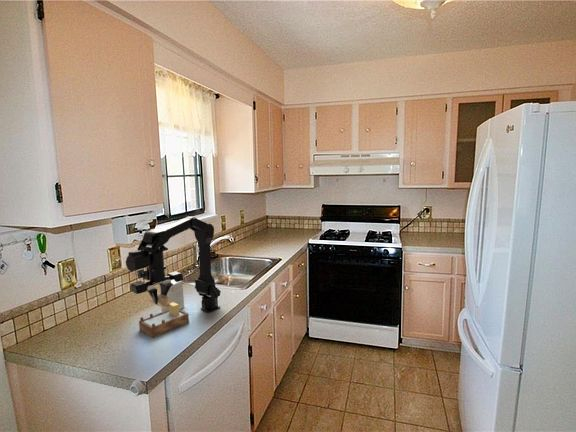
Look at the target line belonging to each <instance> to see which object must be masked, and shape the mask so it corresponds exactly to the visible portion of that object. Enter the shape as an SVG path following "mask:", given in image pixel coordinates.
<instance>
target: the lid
mask: <svg viewBox="0 0 576 432" xmlns="http://www.w3.org/2000/svg"><path fill="white" fill-rule="evenodd" d="M181 315H183V314H182V313H180V312H179V304H177V303H174V302H172V303H170V306H169V312H167V313H164V314H162V315H159V316H156V317H154V318H151V319H148V320H146V321H143V322H145V323H147V324H148V325H150V326H152V324H153V323H154V324H155V326H156V325H158V324H161V323H162V320H163V319H164V320H165V322H166V321H168V320H171V319H173V318H176V317H178V316H181Z"/></svg>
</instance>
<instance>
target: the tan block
mask: <svg viewBox="0 0 576 432" xmlns="http://www.w3.org/2000/svg"><path fill="white" fill-rule="evenodd" d="M148 296H149V298H148V299H149V302H150V303H152V304H154V305H156V304H155V303H154V301H153V299H152V297H151V295H150V294H149V293H148ZM157 299H158V302H157V305H156V306H158V307H160V308H161V307H162V308H167V307H169V306H170V303H169V297H167V296H165V295H163V294H161V293H160V291H157ZM162 308H161V309H162Z"/></svg>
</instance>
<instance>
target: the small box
mask: <svg viewBox="0 0 576 432" xmlns="http://www.w3.org/2000/svg"><path fill="white" fill-rule="evenodd" d="M171 283H172V284H173V286H171V287H170V289H169V291H168V293H167V297H169V303H172V302H174V303H177V304H179V309H180V310H182V309H184V308H185V300H184V287H183V285H184V284H183V280H182V281H179V282H176V281H174V280H171ZM158 285H159V284H158ZM159 293H161V287H160V285H159ZM160 308H161V313H162V312H164V311H167V310H169V307H167V308H162V307H160Z"/></svg>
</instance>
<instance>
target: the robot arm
mask: <svg viewBox="0 0 576 432" xmlns="http://www.w3.org/2000/svg"><path fill="white" fill-rule="evenodd" d="M188 230H191V231H192V232H194V238H195V239H196V241H197V242H198V263H199V275H198V278H196V279H194V284H195V285H194V289H195V291H196V292H197V293H198V295H199V296H201V307H200V310H202V311H204V312H207V313H212V312H213V311H216V310H218V309H220V308H221V305H219V304H218V303H219V300H218V298H219V297H220V296H221V290H220V289H219V288H217V286H216V281H215V279H214V277H213V275H212V261H211V260H212V259H211V258H212V253H211V243H212V241H213V239H214V234H215V226H214V225H213V224H211V223H207V222H205V221H202V220H200V219H199V218H196V217H194V216H186V217H184V218H183V219H180V220H178V221H176V222H174V223H172V224H170V225H168V226H165V227H162V228H156V229H150V230H148V231H145V232H144V233H143V235H142V238H141V240H140V243H139V245H138V247H137V250H135V251H129V252H128V255H127V256H126V259H125V267H126V269H127V270H128V271H129V272H137V273H136V274H137V279H139V280H138V281H135V282H132V283H131V284H130V285H129V290H130V292H132V293H133V294H136V295H138V294H142V293H146V292H148V295H149V294H150V295H151V297H152V299H153V301H154V303H155V304H154V303H153V304H154V305H156V306H158V305H157V302H158V299H157V292H158V289H157V288H155V287H156V286H157V285H160V287H161V294H163V295H165V296H167V293H168V291H169V289H170V287H171V286H173V284H172V283H171V280H174V281H176V282H179V281H182V282H183V281H184V275H183V273H181V272H178V271H176V270H175V271H172V272H168V273H167V274H166V270H167V266H165V258H164V256H165V255H164V252H166V251H168V250H169V248H168V247H167V246H166V243H168V242H169V240H170V239H171V238H174V237H176V236H177V235H179V234H182V233H183V232H185V231H188ZM144 269H146V270H144ZM140 279H142V280H143V281H142V280H140ZM145 280H146V282H144V281H145ZM160 287H159V288H160Z"/></svg>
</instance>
